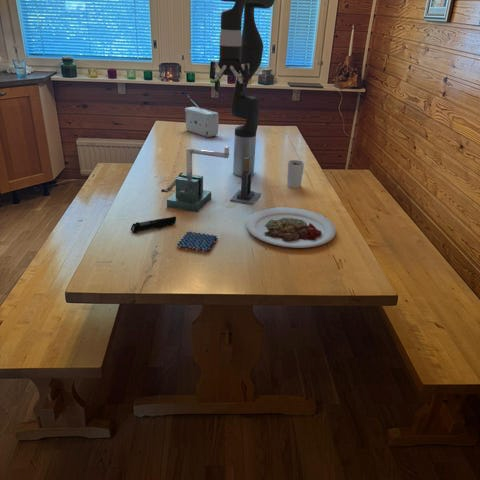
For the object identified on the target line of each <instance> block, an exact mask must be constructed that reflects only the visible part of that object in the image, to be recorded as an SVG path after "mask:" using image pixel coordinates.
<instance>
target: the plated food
mask: <svg viewBox="0 0 480 480" xmlns="http://www.w3.org/2000/svg"><path fill="white" fill-rule="evenodd" d="M245 225H246V228H247V231H248V232H249V233H250V234H251V235H252V236H254V237H255V238H256V239H258V240H260V241H262V242H265V243H267V244H270V245H274V246H279V247H284V248H293V249H295V248H297V249H299V248H300V249H302V248H303V249H305V248H312V247H318V246H321V245H324V244H327V243H329V242H330V241H332V239H334V237H335V236H336V233H337V230H336V226H335V225H334V223H333V222H332V221H331V220H330V219H328V218H327V217H326V216H323V214H322V215H321V214H320V213H317V212H315V211H311V210H306V209H301V208H297V207H285V206H284V207H279V206H278V207H270V208H265V209H264V208H263V209H261V210H258V211H256V212H254V213H252V214H251V215H249V216H248V217H247V219H246V221H245Z"/></svg>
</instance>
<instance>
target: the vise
mask: <svg viewBox="0 0 480 480" xmlns="http://www.w3.org/2000/svg"><path fill="white" fill-rule="evenodd" d="M185 151H186V152H185V153H186V173H185V172H182V173H183V174H181V175H180V177H178V176H177V177H176V178H175V179H174V181H176V184H175V191H174V193H172V195H171V196H169V197H168V198H167V199H166V208H169V209H175V210H180V211H181V210H182V211H185V212H186V211H187V212H192V213H199V212H200V211H201V210H202V209H203V208H204V207H205V206H206V204H208V203H209V202H210V201H211V199H212V190H211V191H210V190H205V189H204V175H199V174H198V175H197V174H193V154H194V155H200V156H201V155H203V156H209V157H218V158H221V159H222V158H224V159H228V158H229V156H230V148H229V146H225V147H224V152H219V151H212V150H206V149H205V150H203V149H197V148H191V147H187V148H186V150H185Z"/></svg>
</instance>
